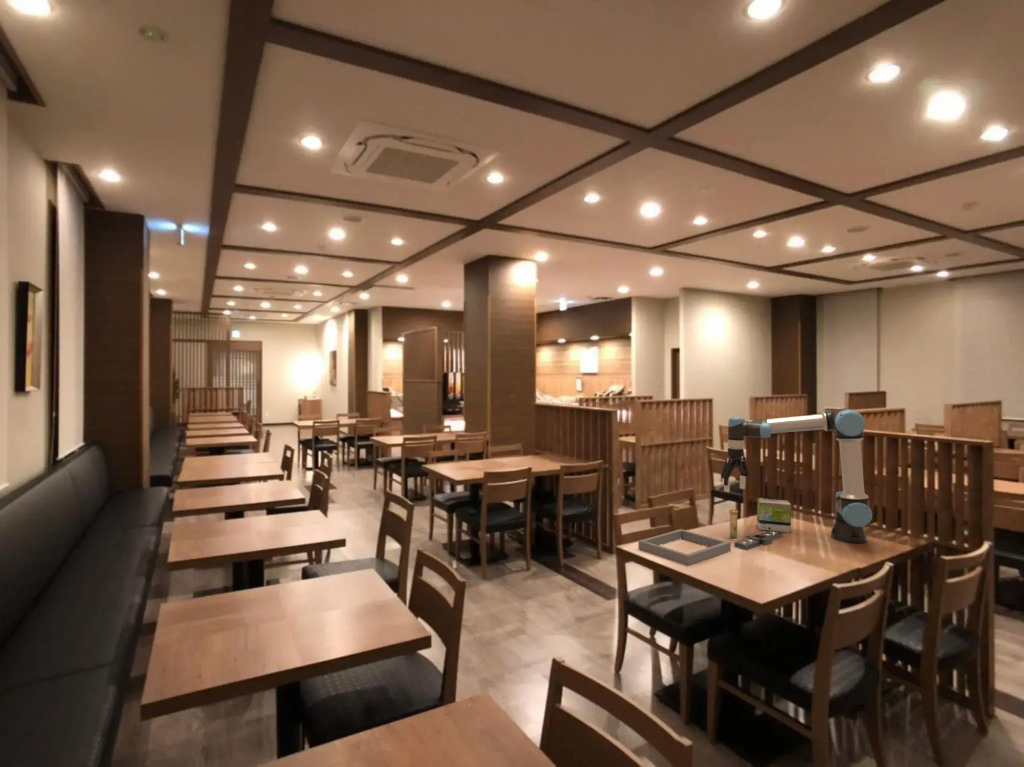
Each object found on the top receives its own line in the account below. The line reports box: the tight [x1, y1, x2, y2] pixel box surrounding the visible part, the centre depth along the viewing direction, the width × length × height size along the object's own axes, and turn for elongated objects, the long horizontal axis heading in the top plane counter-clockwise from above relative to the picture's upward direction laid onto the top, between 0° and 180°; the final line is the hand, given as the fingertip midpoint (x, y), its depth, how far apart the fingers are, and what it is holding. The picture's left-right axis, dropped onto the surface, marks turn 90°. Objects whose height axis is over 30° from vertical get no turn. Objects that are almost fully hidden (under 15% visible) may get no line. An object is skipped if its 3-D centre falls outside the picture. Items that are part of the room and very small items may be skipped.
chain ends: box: [733, 530, 784, 551], centre depth 272 cm, size 9×33×2 cm, turn 128°
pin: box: [728, 509, 739, 540], centre depth 276 cm, size 4×4×14 cm
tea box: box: [756, 498, 792, 534], centre depth 294 cm, size 15×10×15 cm, turn 73°
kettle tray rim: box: [637, 528, 732, 566], centre depth 259 cm, size 27×32×4 cm
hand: (734, 490), depth 283 cm, fingers open, 13 cm apart
